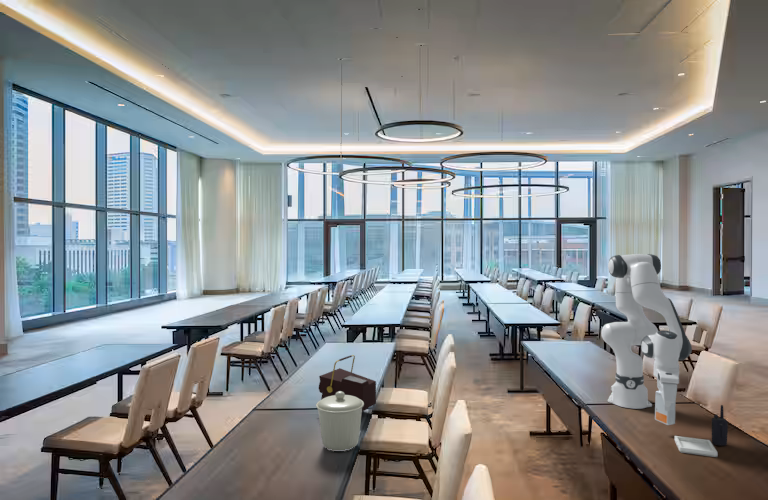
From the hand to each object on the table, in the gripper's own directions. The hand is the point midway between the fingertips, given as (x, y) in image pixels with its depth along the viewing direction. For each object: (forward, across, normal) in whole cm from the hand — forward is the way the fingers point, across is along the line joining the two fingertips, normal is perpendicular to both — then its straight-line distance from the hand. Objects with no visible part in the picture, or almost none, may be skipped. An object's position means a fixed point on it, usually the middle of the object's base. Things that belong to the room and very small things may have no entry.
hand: (665, 406), depth 197 cm
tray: (+11, +11, +8) cm, 18 cm away
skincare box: (+6, 0, 0) cm, 7 cm away
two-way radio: (+11, +5, +18) cm, 22 cm away
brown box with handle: (+13, +22, -130) cm, 132 cm away
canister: (+11, +56, -116) cm, 130 cm away
